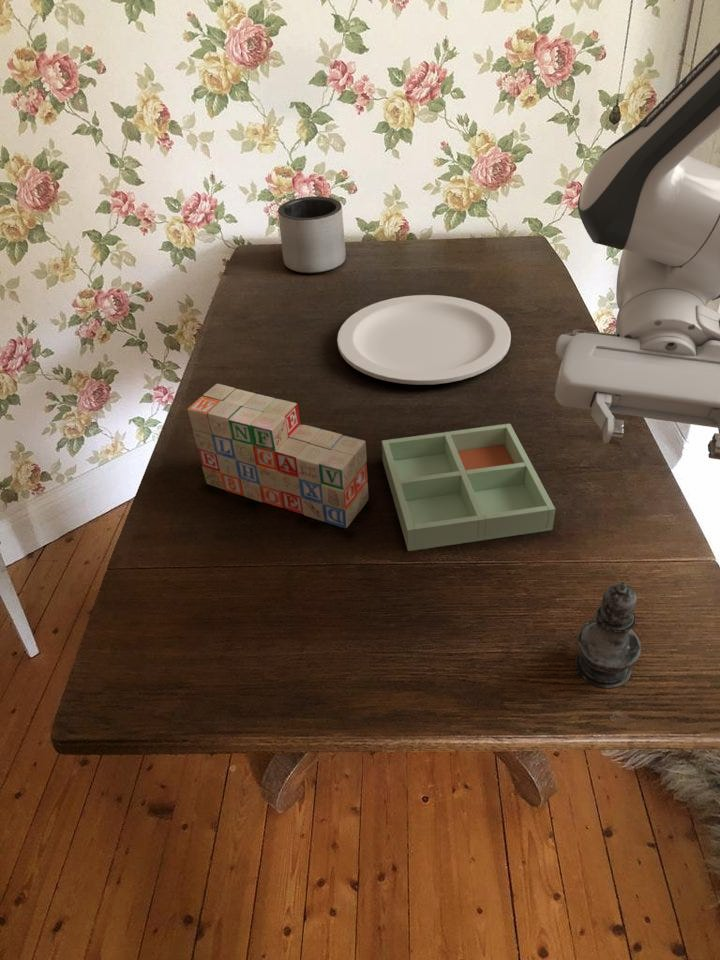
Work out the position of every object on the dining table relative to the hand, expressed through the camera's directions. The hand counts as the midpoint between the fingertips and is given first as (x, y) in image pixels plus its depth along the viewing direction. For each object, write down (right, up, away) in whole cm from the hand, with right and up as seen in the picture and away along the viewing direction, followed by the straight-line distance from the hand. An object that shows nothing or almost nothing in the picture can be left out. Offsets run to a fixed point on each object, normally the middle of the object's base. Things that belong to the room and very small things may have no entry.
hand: (666, 447), depth 68 cm
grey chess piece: (-4, -21, +6) cm, 23 cm away
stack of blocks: (-37, -5, +29) cm, 48 cm away
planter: (-37, +41, +84) cm, 100 cm away
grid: (-15, -5, +27) cm, 31 cm away
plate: (-17, +19, +56) cm, 61 cm away
